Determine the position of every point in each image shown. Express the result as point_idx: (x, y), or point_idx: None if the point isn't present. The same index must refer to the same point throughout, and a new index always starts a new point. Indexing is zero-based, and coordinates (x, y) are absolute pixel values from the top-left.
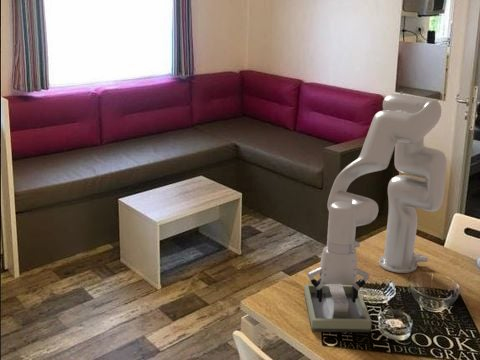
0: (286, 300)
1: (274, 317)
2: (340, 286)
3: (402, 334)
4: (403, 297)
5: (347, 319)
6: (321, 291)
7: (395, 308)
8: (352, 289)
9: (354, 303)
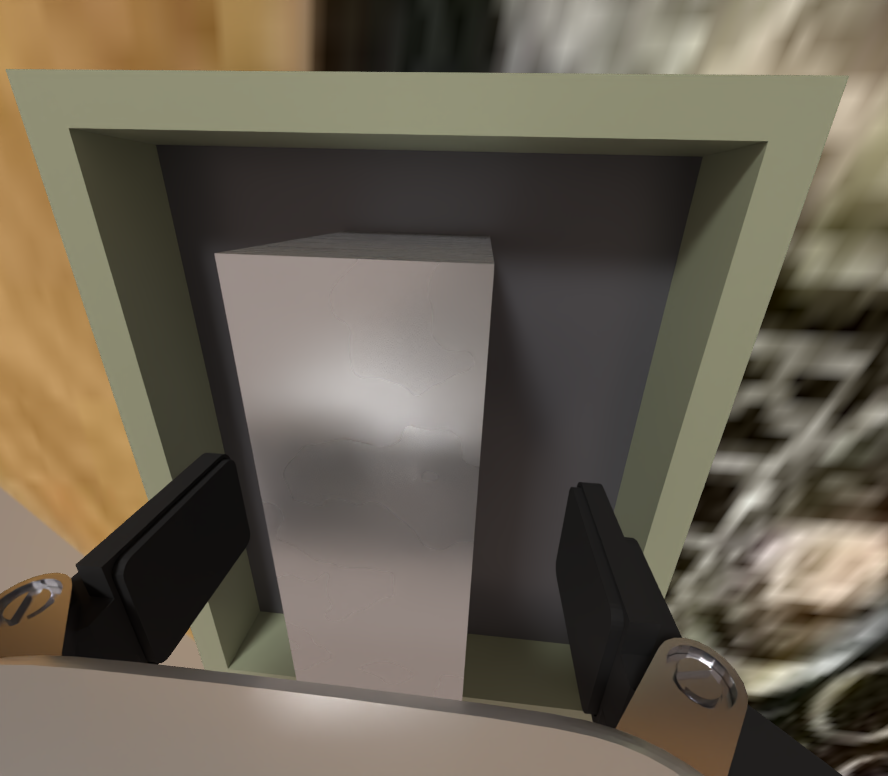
0: (11, 228)
1: (12, 460)
2: (441, 517)
3: (788, 663)
4: None
5: None
6: (159, 658)
7: None
8: (594, 632)
9: (615, 373)
